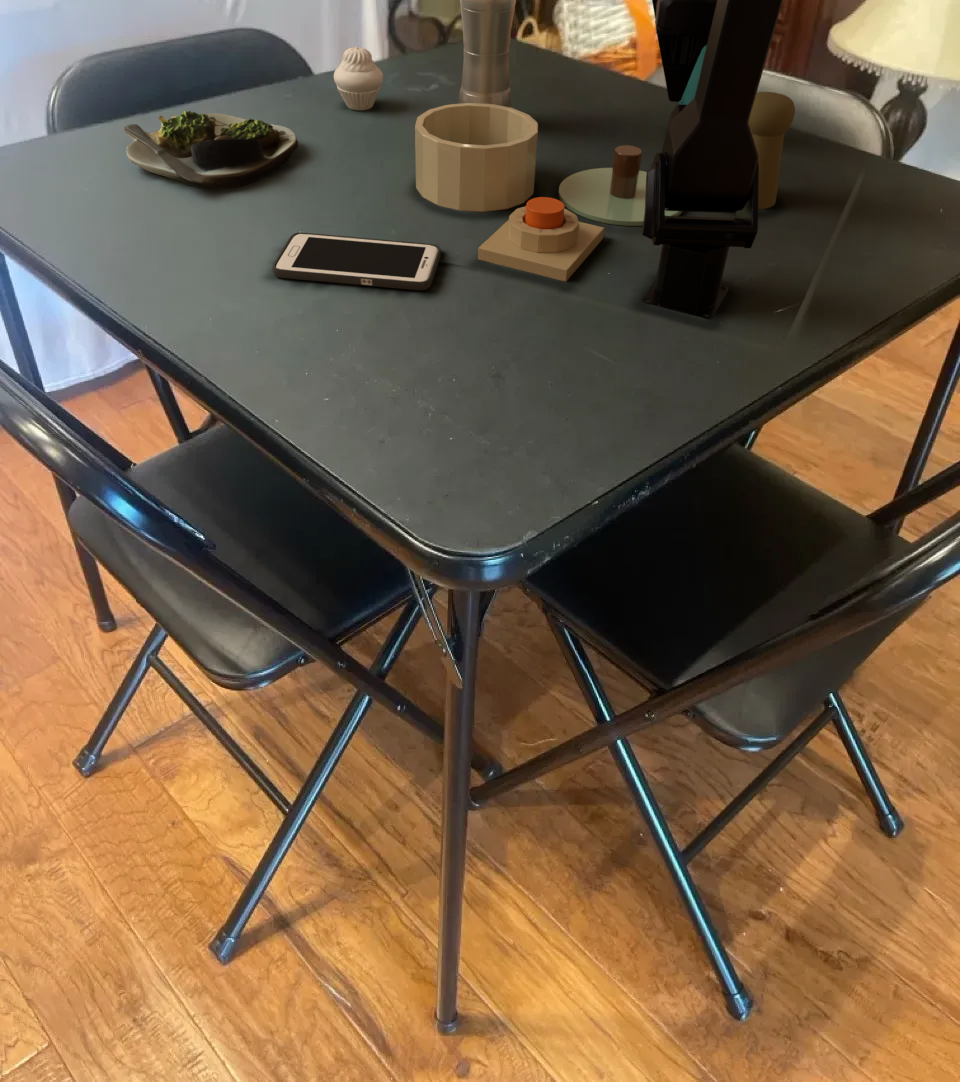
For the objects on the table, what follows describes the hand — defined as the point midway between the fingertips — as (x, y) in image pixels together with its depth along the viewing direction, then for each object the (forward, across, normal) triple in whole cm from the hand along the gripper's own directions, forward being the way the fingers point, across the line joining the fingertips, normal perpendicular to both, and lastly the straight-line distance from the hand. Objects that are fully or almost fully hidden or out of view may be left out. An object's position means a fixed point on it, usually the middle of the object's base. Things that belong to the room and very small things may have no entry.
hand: (672, 85), depth 91 cm
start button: (+9, -14, +11) cm, 20 cm away
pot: (+12, -1, +19) cm, 23 cm away
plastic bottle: (+12, +17, +20) cm, 29 cm away
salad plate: (+12, +2, +49) cm, 50 cm away
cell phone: (+12, -20, +28) cm, 37 cm away
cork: (+12, +1, -10) cm, 16 cm away
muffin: (+12, +22, +36) cm, 44 cm away
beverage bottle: (+12, +20, -6) cm, 24 cm away
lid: (+11, -1, +4) cm, 12 cm away
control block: (+12, -14, +11) cm, 22 cm away
